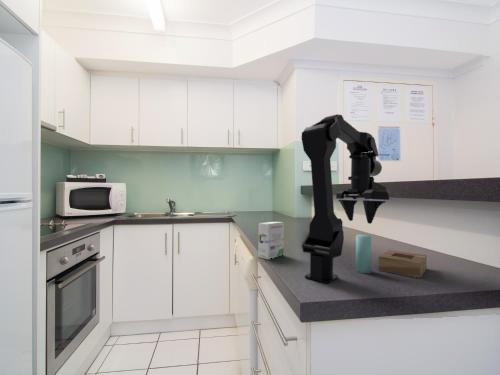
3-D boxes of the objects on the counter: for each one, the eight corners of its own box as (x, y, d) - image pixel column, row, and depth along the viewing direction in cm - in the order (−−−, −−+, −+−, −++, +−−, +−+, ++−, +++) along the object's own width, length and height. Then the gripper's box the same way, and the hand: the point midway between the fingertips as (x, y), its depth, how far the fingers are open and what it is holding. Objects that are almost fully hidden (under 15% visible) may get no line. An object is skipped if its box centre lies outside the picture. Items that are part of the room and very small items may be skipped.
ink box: (273, 253, 92) (273, 220, 92) (284, 255, 89) (284, 222, 89) (257, 257, 86) (257, 222, 86) (268, 260, 83) (268, 223, 83)
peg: (368, 274, 69) (368, 237, 69) (353, 271, 72) (353, 235, 72) (373, 271, 72) (373, 235, 72) (358, 268, 75) (358, 234, 75)
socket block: (420, 278, 66) (420, 263, 66) (378, 270, 73) (378, 256, 73) (426, 268, 75) (426, 255, 75) (389, 262, 82) (389, 249, 82)
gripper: (405, 172, 75) (404, 225, 74) (362, 177, 93) (362, 219, 92) (372, 170, 72) (371, 225, 71) (335, 175, 90) (334, 219, 90)
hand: (359, 222), depth 81 cm, fingers open, 9 cm apart
